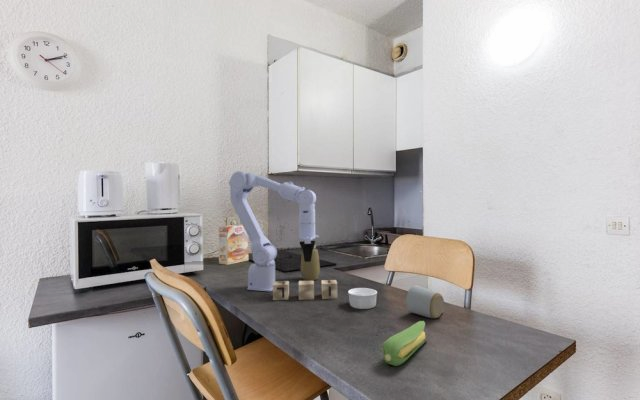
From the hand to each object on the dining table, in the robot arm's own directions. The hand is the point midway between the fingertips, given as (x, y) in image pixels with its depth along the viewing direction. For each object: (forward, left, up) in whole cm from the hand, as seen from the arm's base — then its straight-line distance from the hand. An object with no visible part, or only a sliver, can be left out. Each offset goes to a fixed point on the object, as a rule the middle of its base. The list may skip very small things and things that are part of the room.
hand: (307, 261), depth 120 cm
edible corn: (+38, -39, -11) cm, 55 cm away
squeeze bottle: (-5, +16, -11) cm, 20 cm away
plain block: (+2, -8, -10) cm, 13 cm away
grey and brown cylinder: (+41, -14, -11) cm, 44 cm away
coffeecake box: (-57, +41, -11) cm, 71 cm away
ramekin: (+22, -11, -11) cm, 27 cm away
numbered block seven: (-5, -11, -10) cm, 16 cm away
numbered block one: (+10, -5, -10) cm, 15 cm away
